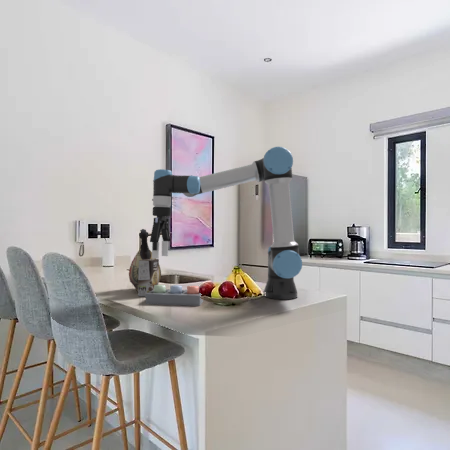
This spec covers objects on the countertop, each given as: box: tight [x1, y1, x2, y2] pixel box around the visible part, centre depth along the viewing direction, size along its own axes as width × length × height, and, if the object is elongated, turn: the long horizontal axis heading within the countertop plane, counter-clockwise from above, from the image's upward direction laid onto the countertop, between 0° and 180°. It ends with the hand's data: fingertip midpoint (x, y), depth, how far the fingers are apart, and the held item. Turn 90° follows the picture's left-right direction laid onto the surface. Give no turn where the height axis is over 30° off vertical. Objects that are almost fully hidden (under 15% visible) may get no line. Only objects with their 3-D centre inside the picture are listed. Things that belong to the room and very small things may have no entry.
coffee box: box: [137, 258, 160, 297], centre depth 161 cm, size 9×6×16 cm
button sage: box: [154, 284, 167, 293], centre depth 148 cm, size 5×5×4 cm
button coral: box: [186, 285, 200, 294], centre depth 146 cm, size 5×5×4 cm
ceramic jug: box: [128, 228, 162, 292], centre depth 172 cm, size 17×15×30 cm
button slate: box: [170, 284, 183, 294], centre depth 147 cm, size 5×5×4 cm
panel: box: [145, 288, 204, 307], centre depth 147 cm, size 22×12×4 cm, turn 84°
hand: (160, 257), depth 149 cm, fingers open, 13 cm apart
